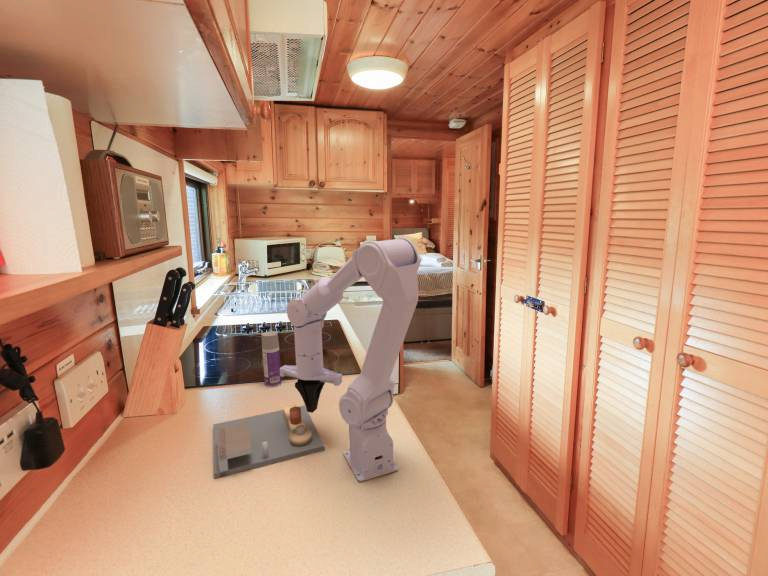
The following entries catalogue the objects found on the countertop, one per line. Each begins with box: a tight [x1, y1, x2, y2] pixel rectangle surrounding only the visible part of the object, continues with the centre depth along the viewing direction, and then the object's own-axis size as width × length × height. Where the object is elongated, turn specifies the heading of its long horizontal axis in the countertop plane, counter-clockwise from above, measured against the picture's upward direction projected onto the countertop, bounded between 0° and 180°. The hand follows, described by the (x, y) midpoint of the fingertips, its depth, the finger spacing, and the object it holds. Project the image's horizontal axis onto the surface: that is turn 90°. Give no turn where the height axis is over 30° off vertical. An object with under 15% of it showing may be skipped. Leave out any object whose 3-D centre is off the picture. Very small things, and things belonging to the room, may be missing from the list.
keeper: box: [217, 423, 252, 477], centre depth 79 cm, size 10×6×4 cm, turn 23°
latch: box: [282, 404, 312, 446], centre depth 87 cm, size 15×5×4 cm, turn 23°
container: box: [260, 330, 283, 388], centre depth 112 cm, size 5×5×15 cm
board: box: [212, 404, 326, 479], centre depth 85 cm, size 19×21×4 cm
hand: (312, 410), depth 87 cm, fingers closed
